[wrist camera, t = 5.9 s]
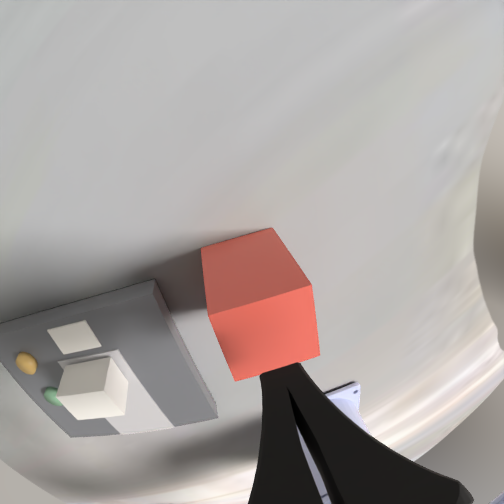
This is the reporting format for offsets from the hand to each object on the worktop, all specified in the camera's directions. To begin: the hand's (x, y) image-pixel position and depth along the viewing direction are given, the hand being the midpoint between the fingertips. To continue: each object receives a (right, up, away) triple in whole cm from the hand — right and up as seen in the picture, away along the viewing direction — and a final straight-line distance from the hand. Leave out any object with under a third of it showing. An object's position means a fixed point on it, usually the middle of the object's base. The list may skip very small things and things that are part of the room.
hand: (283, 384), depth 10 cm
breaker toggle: (-11, -3, +7) cm, 13 cm away
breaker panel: (-12, -4, +9) cm, 15 cm away
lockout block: (-1, +4, +7) cm, 9 cm away
